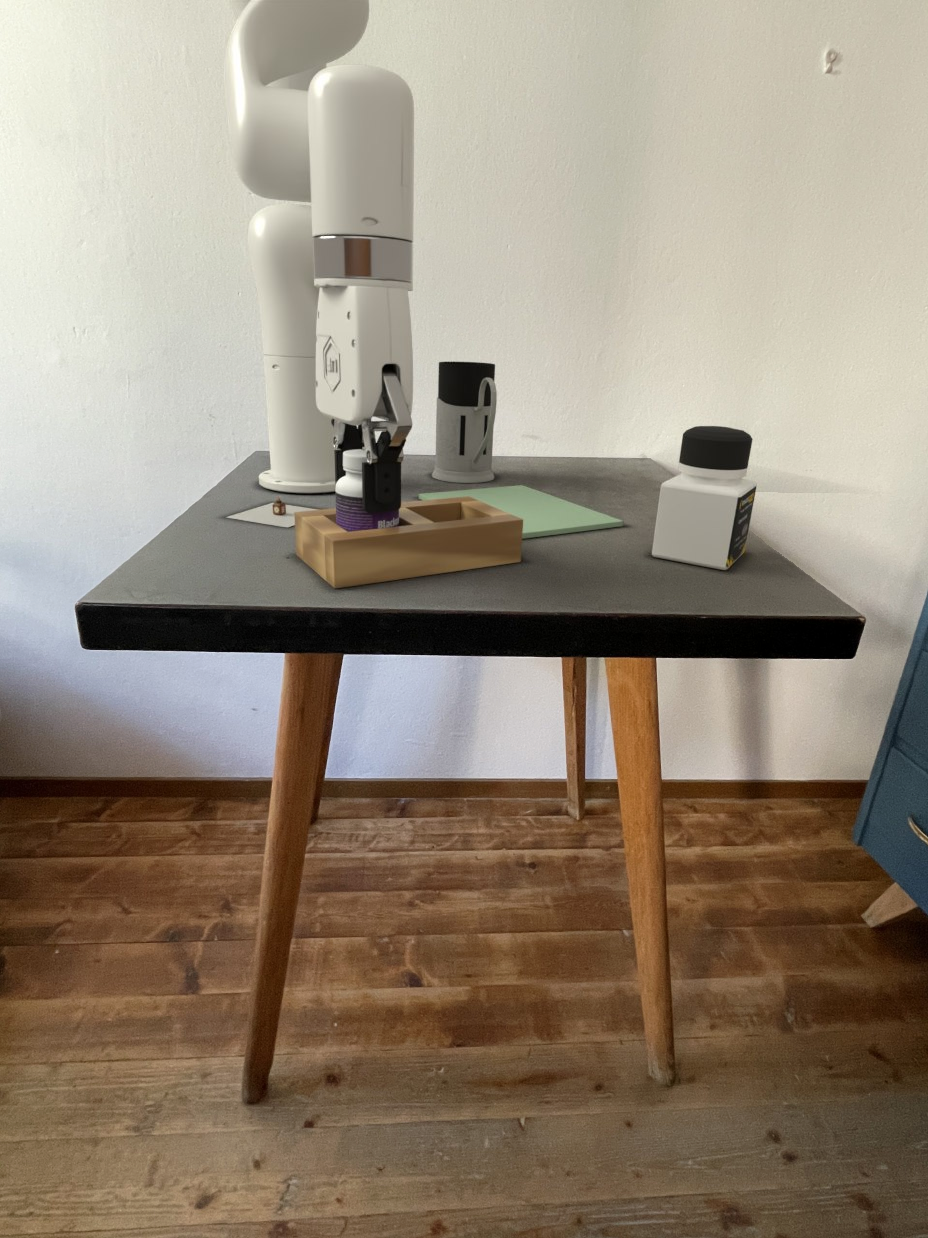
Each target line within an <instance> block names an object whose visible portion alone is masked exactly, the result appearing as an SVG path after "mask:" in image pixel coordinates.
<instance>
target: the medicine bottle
mask: <svg viewBox="0 0 928 1238" xmlns="http://www.w3.org/2000/svg"><path fill="white" fill-rule="evenodd" d="M752 445H753V437H752V436H751V433H750V434H749V433H748V432H746V431H745V430H744V429H740V428H735V427H730V426H720V425H719V426H718V425H698V426H697V425H696V426H692V427H691V428H688V429H686V430H685V431H684V432H683V433H682V438H681V445H680V453H679V459H678V466H677V471H679V472H680V474H678V475H676V476H673V477H671V478H669V479H667V480H665V481H664V482H662V483H661V485H660V488H659V489H660V490H659V498H658V503H657V511H656V519H655V526H654V532H653V533H654V534H653V542H652V548H651V556H652V557H654V558H658V559H661V560H662V559H663V560H668V561H673V562H679V563H685V564H690V565H694V566H699V567H706V568H711V569H716V570H721V571H727V570H728V569H729V568H730V567H731V566H732V565H733V564H734V563H735V562H736V561H737V560H738V559H739V558H740V557H742V555H743V554H744V553H745V551H746V546H747V539H748V535H749V530H750V525H751V524H750V523H751V518H752V513H753V508H754V502H755V497H756V491H757V487H758V485H757V482H756V481H755V480H751V479H745V477H746V476H747V473H748V466H749V463H750V462H749V461H750V456H751V450H752Z"/></svg>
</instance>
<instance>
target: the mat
mask: <svg viewBox="0 0 928 1238" xmlns="http://www.w3.org/2000/svg"><path fill="white" fill-rule="evenodd" d="M466 496H469V497H471V498H474V499H476V500H478V501H481V502H483V503H485V504H488V505H490V506H493V507H495V508H497V509H500V510H502V511H504V512H507V513H509V514H511V515H514V516H516V517H519V518H521V519H523V533H522V540H524V539H532V538H540V537H547V536H555V535H563V534H564V535H565V534H570V533H573V534H574V533H578V532H579V533H580V532H587V531H596V530H604V529H610V528H618V527H623V526H624V520H623V519H619V518H616V517H613V516H610V515H608V514H605V513H601V512H599V511H596V510H593V509H590V508H588V507H585V506H582V505H579V504H577V503H574V502H571V501H568V500H565V499H562V498H560V497H557V496H554V495H551V494H549V493H545V492H543V491H541V490H537V489H534V488H531V487H528V486H525V485H523V484H518V485H508V486H494V487H485V488H473V489H460V490H459V489H458V490H449V491H437V492H436V491H435V492H426V493H419V494H418V499H419V500H420V501H422V500H433V499H444V498H455V497H466Z"/></svg>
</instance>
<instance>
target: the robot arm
mask: <svg viewBox="0 0 928 1238" xmlns="http://www.w3.org/2000/svg"><path fill="white" fill-rule="evenodd" d="M229 2H230V5H231V8H232V11H233V13H234V17H235V19H236V22H235V23H234V26H233V27H232V30H231V32H230V33H229V37H228V40H227V44H226V47H225V52H224V53H225V55H224V61H223V91H224V93H223V94H224V102H225V109H226V118H227V127H228V128H227V129H228V134H229V135H228V137H229V144H230V152H231V156H232V160H233V164H234V167H235V170H236V173H237V176H238V177H239V179H240V181H241V182H242V184H243V185H244V186H245V188H247V190H249V191H250V192H251V193H253V194H254V195H256V196H258V197H260V198H263V199H269V200H276V201H284V202H285V201H287V202H299V203H311V205H310V204H309V205H308V204H294V203H281V204H272V205H267V206H266V207H263V208H261V209H259V210H258V211H257V212H255V214H254V215H253V216H252V217H251V219H250V221H249V225H248V230H247V247H248V253H249V259H250V264H251V268H252V273H253V279H254V283H255V288H256V296H257V301H258V308H259V315H260V326H261V338H262V354H263V368H264V382H265V385H264V386H265V397H266V399H265V400H266V402H265V403H266V414H267V415H266V416H267V417H266V418H267V430H268V444H269V445H268V446H269V447H268V448H269V463H270V469H267V470H264V471H263V472H260V473H259V475H258V485H259V486H261V487H262V488H264V489H267V490H271V491H275V492H281V493H291V494H292V493H293V494H322V493H323V494H324V493H325V494H326V493H334V492H335V488H336V483H337V481H338V480H339V479H340V478H342V477H344V476H346V471H345V470H344V469H343V452H344V451H348V450H356V449H365V452H366V459H367V462H362V501H363V510H364V511H366V512H368V513H373V512H384V511H394V510H399V509H400V508H401V502H402V462H404V457H405V455H404V453H405V452H404V447H405V445H406V443H407V437H408V435H409V434H410V432H411V431H412V428H413V419H412V412H413V401H414V356H413V355H414V353H413V352H414V351H413V350H414V349H413V334H412V333H413V332H412V319H411V308H410V307H411V306H410V297H409V292H413V291H414V244H413V243H414V207H415V206H414V203H415V202H414V201H415V200H414V199H415V197H414V196H415V195H414V194H415V193H414V190H415V189H414V188H415V183H414V182H415V179H414V178H415V104H414V103H415V101H414V96H413V93H412V90H411V87H410V86H409V84H408V82H407V81H406V80H405V79H404V78H402V76H400V75H399V74H397V73H395V72H393V71H390V70H388V69H385V68H382V67H379V66H373V65H367V64H358V63H357V64H355V63H345V64H344V63H343V64H336V65H332V66H328V67H327V64H329V63H332V62H334V61H337V60H339V59H340V58H342V57H344V56H346V55H347V54H348V53H349V52H351V51H352V50H353V49H355V47H356V46H358V44H359V43H360V41H361V40H362V38H363V36H364V34H365V33H366V29H367V27H368V23H369V19H370V0H229ZM373 418H377V419H380V420H372V419H373ZM376 432H380V434H379V436H378V438H377V439H376Z"/></svg>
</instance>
